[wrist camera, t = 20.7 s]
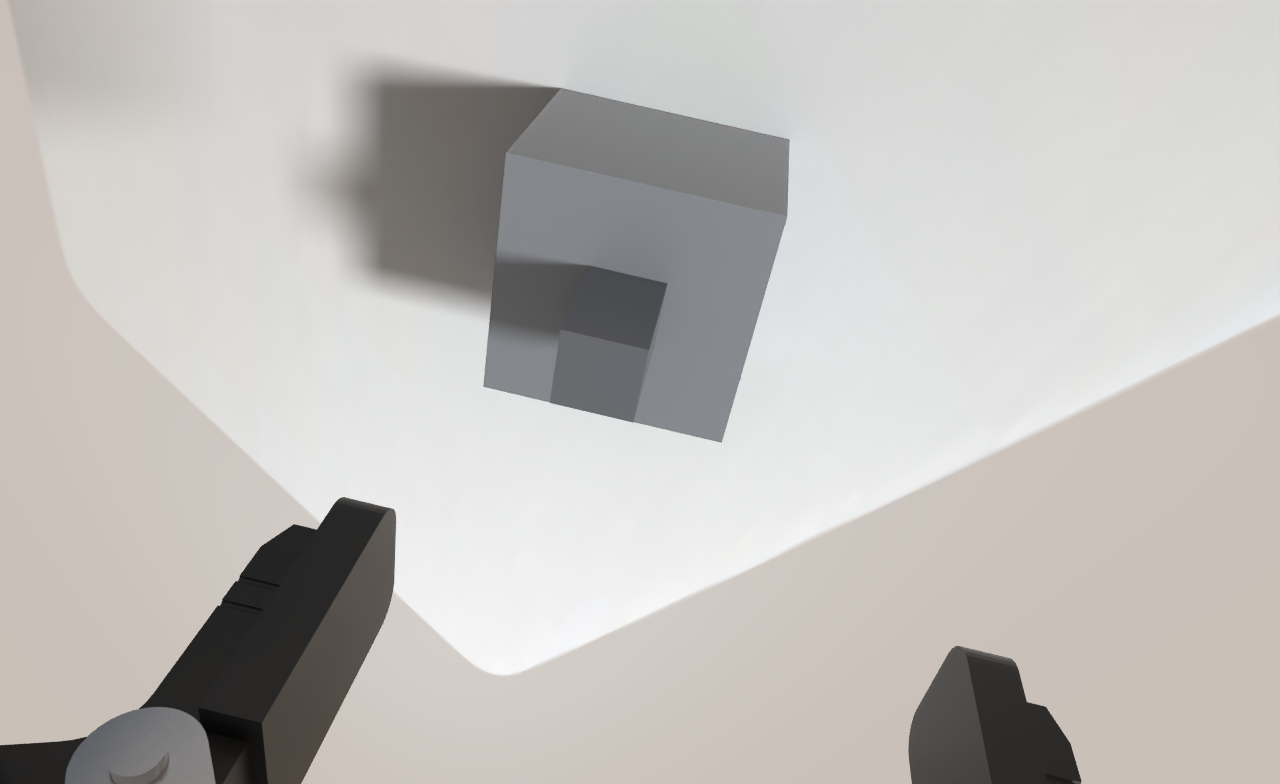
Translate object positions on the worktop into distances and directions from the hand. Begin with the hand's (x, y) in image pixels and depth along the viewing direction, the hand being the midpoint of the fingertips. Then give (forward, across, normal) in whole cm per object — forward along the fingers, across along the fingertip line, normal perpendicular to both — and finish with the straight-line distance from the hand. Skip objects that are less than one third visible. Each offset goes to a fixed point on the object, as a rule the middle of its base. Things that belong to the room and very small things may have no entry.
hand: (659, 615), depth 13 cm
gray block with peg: (+30, +3, +7) cm, 31 cm away
